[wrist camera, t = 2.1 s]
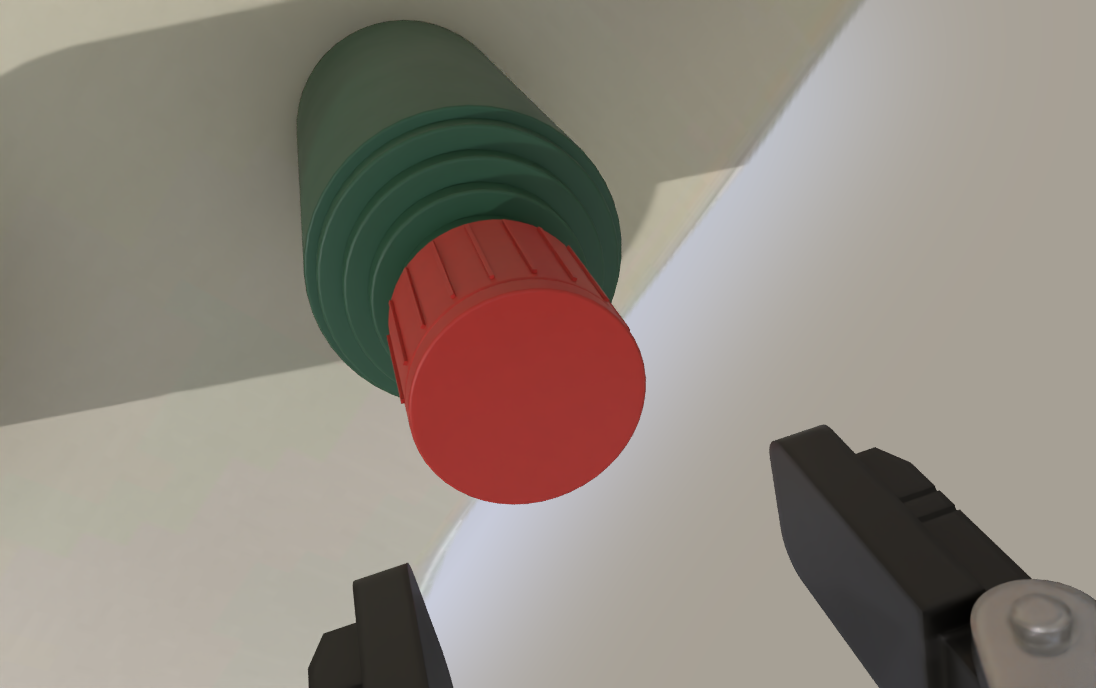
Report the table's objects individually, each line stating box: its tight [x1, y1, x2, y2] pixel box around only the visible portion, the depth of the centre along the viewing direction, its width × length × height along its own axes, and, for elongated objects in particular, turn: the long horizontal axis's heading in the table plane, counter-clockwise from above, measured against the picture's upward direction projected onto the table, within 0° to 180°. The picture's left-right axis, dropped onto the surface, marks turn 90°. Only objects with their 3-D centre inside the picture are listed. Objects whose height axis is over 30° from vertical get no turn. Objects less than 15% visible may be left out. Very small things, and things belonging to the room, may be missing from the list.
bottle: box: [297, 20, 621, 397], centre depth 26 cm, size 7×7×19 cm
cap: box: [387, 219, 646, 504], centre depth 19 cm, size 4×4×4 cm
